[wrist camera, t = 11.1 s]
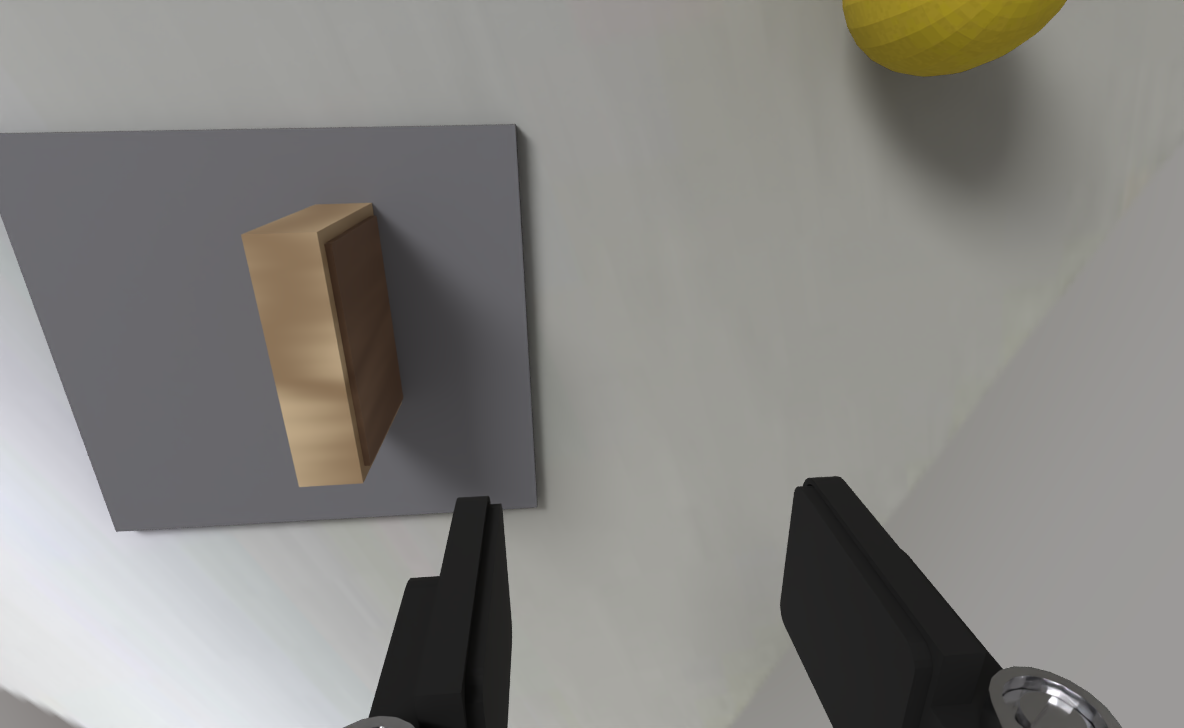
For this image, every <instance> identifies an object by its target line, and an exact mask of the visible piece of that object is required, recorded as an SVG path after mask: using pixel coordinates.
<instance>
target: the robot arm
mask: <svg viewBox="0 0 1184 728" xmlns="http://www.w3.org/2000/svg"><path fill="white" fill-rule="evenodd" d="M780 609H781V616H782V620H783V623H784V625H785V627H786V630H787V632H788V634H789V636H790V638H791V640H792V642H793V644H794V646H795V648H796V651H797V653H798V655H799V657H800V659H801V661H802V663H803V665H804V667H805V669H806V672H807V673H808V676H809V678H810V680H811V682H812V684H813V686H814V688H815V690H816V692H817V695H818V697H819V699H820V701H821V703H822V705H823V707H824V709H825V711H826V713H827V715H828V717H829V720H830V722H831V724H832V726H833V728H1122V727H1121V726H1120V724H1119V723H1118V722H1117V720H1116V719H1115V718H1114V716H1113V715H1112V714H1111V713H1110V711H1109V710H1108V709H1107V708H1106V707H1105V706H1104V705H1103V704H1102V703H1101V702H1100V701H1098V700H1097V699H1096V698H1095V697H1094V696H1093V695H1091V694H1090V693H1089V692H1088V691H1086V690H1084V689H1083V688H1081V687H1079V686H1078V685H1076V684H1075V683H1073V682H1071V681H1070V680H1067V679H1065V678H1063V677H1060V676H1058V675H1056V674H1053V673H1051V672H1048V671H1044V670H1040V669H1036V668H1032V667H1010V668H1006V669H1002V668H1001V666H1000V665H999V664H998V663H997V662H996V661H995V659H994V658H993V657H992V656H991V655H990V654H989V652H988V651H987V650H986V648H985V647H984V646H983V645H982V644H981V642H980V641H979V640H978V639H977V638H976V636H975V635H974V634H973V633H972V632H971V630H970V629H969V628H968V627H967V626H966V624H965V623H964V622H963V621H962V620H961V618H960V617H959V616H958V615H957V614H956V612H955V611H954V610H953V609H952V608H951V606H950V605H949V604H948V603H947V602H946V600H945V599H944V598H943V597H942V595H941V594H940V593H939V592H938V591H937V590H936V588H935V587H934V586H933V585H932V584H931V582H930V581H929V580H928V579H927V577H926V576H925V575H924V574H923V573H922V572H921V570H920V569H919V568H918V567H917V565H916V564H915V563H914V562H913V561H912V559H911V558H910V557H909V556H908V555H907V554H906V553H905V552H904V551H903V550H902V549H900V548H899V546H898V545H897V544H896V543H895V542H894V540H893V539H892V538H891V537H890V535H889V534H888V533H887V532H886V531H885V529H884V528H883V527H882V526H881V525H880V523H879V522H878V521H877V520H876V519H875V517H874V516H873V515H872V514H871V512H870V511H869V510H868V509H867V508H866V506H865V505H864V504H863V503H862V502H861V500H860V499H859V498H858V497H857V496H856V494H855V493H854V492H853V491H852V489H851V488H850V487H849V486H848V485H847V483H846V482H845V481H844V480H843V479H842V478H841V477H838V476H834V477H816V478H807V479H806V480H805V482H804V484H803V486H800V487H797V488H796V489H795V492H794V498H793V505H792V513H791V521H790V529H789V537H788V545H787V553H786V561H785V569H784V577H783V585H782V593H781V601H780ZM511 651H512V621H511V608H510V596H509V584H508V571H507V559H506V547H505V535H504V523H503V511H502V504H501V503H500V504H491V502H490V497H489V496H476V497H458V498H457V500H456V504H455V508H454V513H453V517H452V522H451V527H450V531H449V536H448V540H447V545H446V550H445V554H444V559H443V563H442V568H441V573H440V576H435V577H420V578H410V580H409V581H408V583H407V585H406V588H405V591H404V595H403V598H402V602H401V605H400V609H399V612H398V616H397V619H396V623H395V626H394V630H393V633H392V637H391V640H390V644H389V648H388V651H387V655H386V658H385V662H384V665H383V669H382V672H381V676H380V679H379V683H378V686H377V690H376V693H375V697H374V700H373V704H372V707H371V711H370V714H369V718H366V719H362V720H359V721H357V722H355V723H353V724H350V725H348V726H346V727H344V728H507V725H508V707H509V688H510V669H511Z"/></svg>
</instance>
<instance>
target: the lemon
mask: <svg viewBox="0 0 1184 728" xmlns="http://www.w3.org/2000/svg"><path fill="white" fill-rule="evenodd" d="M1066 1H1067V0H843V11H844V15H845V19H846V23H847V27H848V29H849V31H850V33H851V35H852V37H853V39H854V40H855V42H856V44H857V45H858V47H859V48H860V49H861V50H862V51H863V52H864V53H865V54H866V55H867V56H868V57H869V58H870V59H871V60H873V61H874V62H876V63H878V64H880V65H882V66H884V67H886V68H888V69H890V70H891V71H894V72H898V73H904V74H909V75H915V76H923V77H925V76H937V75H947V74H955V73H960V72H963V71H966V70H969V69H972V68H974V67H977V66H980V65H982V64H985V63H987V62H990V61H992V60H995V59H997V58H999V57H1001V56H1003V55H1005V54H1007V53H1008V52H1010V51H1012V50H1013V49H1015V48H1016V47H1018V46H1019V45H1021V44H1022V43H1024V42H1025V41H1026V40H1028V39H1029V38H1031V37H1032V36H1034V35H1035V34H1036V33H1037V32H1039V31H1040V30H1041V29H1042V28H1043V27H1044V26H1045V25H1046V24H1047V23H1048V22H1049V21H1050V20H1051V19H1052V18H1053V17H1054V16H1055V15H1056V14H1057V13H1058V12H1059V11H1060V9H1061V8H1062V7H1063V5H1064V4H1065V2H1066Z"/></svg>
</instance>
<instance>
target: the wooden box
mask: <svg viewBox="0 0 1184 728" xmlns="http://www.w3.org/2000/svg"><path fill="white" fill-rule="evenodd" d="M241 237H242V241H243V246H244V250H245V254H246V259H247V263H248V267H249V272H250V276H251V280H252V285H253V289H254V293H255V298H256V302H257V306H258V311H259V315H260V320H261V324H262V328H263V333H264V337H265V341H266V346H267V350H268V354H269V359H270V363H271V367H272V372H273V376H274V380H275V385H276V389H277V393H278V398H279V402H280V406H281V411H282V415H283V419H284V424H285V428H286V432H287V437H288V441H289V445H290V450H291V454H292V458H293V463H294V467H295V471H296V476H297V480H298V485H299V487H309V486H326V485H343V484H360V483H364V481H365V479H366V476H367V474H368V472H369V470H370V468H371V466H372V464H373V462H374V460H375V458H376V456H377V453H378V451H379V449H380V447H381V445H382V443H383V441H384V439H385V437H386V435H387V433H388V430H389V428H390V426H391V424H392V422H393V420H394V418H395V416H396V414H397V412H398V409H399V407H400V405H401V403H402V400H403V392H402V385H401V378H400V372H399V365H398V358H397V351H396V344H395V338H394V331H393V324H392V317H391V311H390V304H389V297H388V290H387V283H386V277H385V270H384V263H383V256H382V249H381V243H380V236H379V229H378V222H377V216H374V214H373V207H372V203H348V204H315V205H313V206H310V207H308V208H305V209H303V210H300V211H298V212H295V213H293V214H290V215H288V216H286V217H283V218H281V219H278V220H276V221H273V222H271V223H268V224H266V225H263V226H261V227H258V228H256V229H254V230H251V231H249V232H246V233H244V234H241Z"/></svg>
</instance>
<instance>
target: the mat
mask: <svg viewBox="0 0 1184 728" xmlns="http://www.w3.org/2000/svg"><path fill="white" fill-rule="evenodd" d="M348 203H372V207H373V214H374V216H377V222H378V229H379V236H380V243H381V249H382V256H383V263H384V270H385V277H386V283H387V290H388V297H389V304H390V311H391V317H392V324H393V331H394V338H395V344H396V351H397V358H398V365H399V372H400V378H401V385H402V392H403V400H402V403H401V405H400V407H399V409H398V412H397V414H396V416H395V418H394V420H393V422H392V424H391V426H390V428H389V430H388V433H387V435H386V437H385V439H384V441H383V443H382V445H381V447H380V449H379V451H378V453H377V456H376V458H375V460H374V462H373V464H372V466H371V468H370V470H369V472H368V474H367V476H366V479H365V481H364V483H360V484H343V485H326V486H309V487H299V485H298V480H297V476H296V471H295V467H294V463H293V458H292V454H291V450H290V445H289V441H288V437H287V432H286V428H285V424H284V419H283V415H282V411H281V406H280V402H279V398H278V393H277V389H276V385H275V380H274V376H273V372H272V367H271V363H270V359H269V354H268V350H267V346H266V341H265V337H264V333H263V328H262V324H261V320H260V315H259V311H258V306H257V302H256V298H255V293H254V289H253V285H252V280H251V276H250V272H249V267H248V263H247V259H246V254H245V250H244V246H243V241H242V237H241V234H244V233H246V232H249V231H251V230H254V229H256V228H258V227H261V226H263V225H266V224H268V223H271V222H273V221H276V220H278V219H281V218H283V217H286V216H288V215H290V214H293V213H295V212H298V211H300V210H303V209H305V208H308V207H310V206H313V205H315V204H348ZM0 214H1V217H2V220H3V223H4V225H5V228H6V231H7V234H8V236H9V239H10V242H11V245H12V247H13V250H14V253H15V256H16V258H17V261H18V264H19V266H20V269H21V272H22V275H23V277H24V280H25V283H26V286H27V288H28V291H29V294H30V297H31V299H32V302H33V305H34V308H35V310H36V313H37V316H38V319H39V321H40V324H41V327H42V330H43V332H44V335H45V338H46V341H47V343H48V346H49V349H50V352H51V354H52V357H53V360H54V363H55V365H56V368H57V371H58V373H59V376H60V379H61V382H62V384H63V387H64V390H65V393H66V395H67V398H68V401H69V404H70V406H71V409H72V412H73V415H74V417H75V420H76V423H77V426H78V428H79V431H80V434H81V437H82V439H83V442H84V445H85V448H86V450H87V453H88V456H89V459H90V461H91V464H92V467H93V470H94V472H95V475H96V478H97V480H98V483H99V486H100V489H101V491H102V494H103V497H104V500H105V502H106V505H107V508H108V511H109V513H110V516H111V519H112V522H113V524H114V527H115V530H116V532H118V531H136V530H153V529H170V528H188V527H205V526H222V525H240V524H257V523H274V522H292V521H309V520H326V519H344V518H361V517H378V516H396V515H413V514H430V513H448V512H454V508H455V504H456V500H457V498H458V497H476V496H489V497H490V502H491V504H500V503H501V504H502V509H517V508H534V507H537V489H536V472H535V454H534V437H533V419H532V401H531V384H530V366H529V349H528V331H527V313H526V296H525V278H524V261H523V243H522V226H521V208H520V190H519V173H518V155H517V138H516V124H510V125H453V126H395V127H338V128H280V129H223V130H166V131H108V132H51V133H0Z"/></svg>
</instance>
